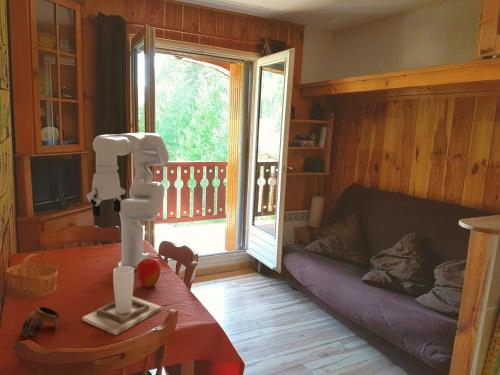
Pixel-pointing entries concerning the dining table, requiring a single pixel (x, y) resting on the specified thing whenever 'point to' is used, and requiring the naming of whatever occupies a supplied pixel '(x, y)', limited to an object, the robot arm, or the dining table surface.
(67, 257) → the dining table surface
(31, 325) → the pottery mug
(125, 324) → the locating board
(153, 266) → the apple
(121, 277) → the drinking glass
